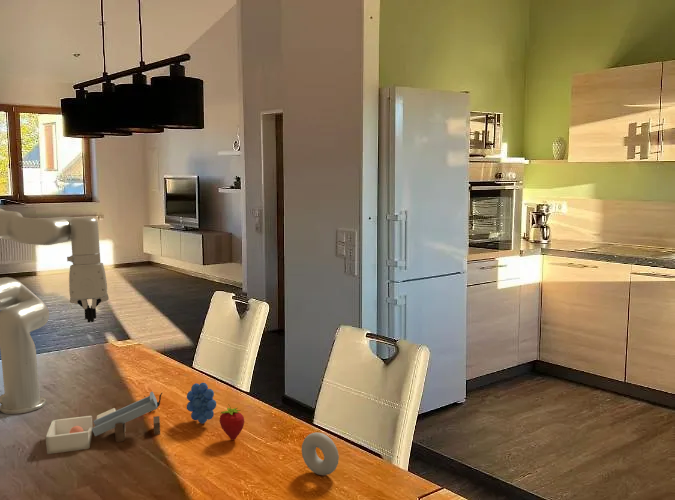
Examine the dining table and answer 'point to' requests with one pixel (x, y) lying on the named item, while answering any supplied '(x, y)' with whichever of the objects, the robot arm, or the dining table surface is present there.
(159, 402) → the creature
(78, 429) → the ball
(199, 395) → the grapes
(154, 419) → the post
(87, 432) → the tray
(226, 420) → the strawberry
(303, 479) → the dining table surface
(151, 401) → the lever
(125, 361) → the dining table surface
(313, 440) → the donut
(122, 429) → the pivot stand
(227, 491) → the dining table surface
